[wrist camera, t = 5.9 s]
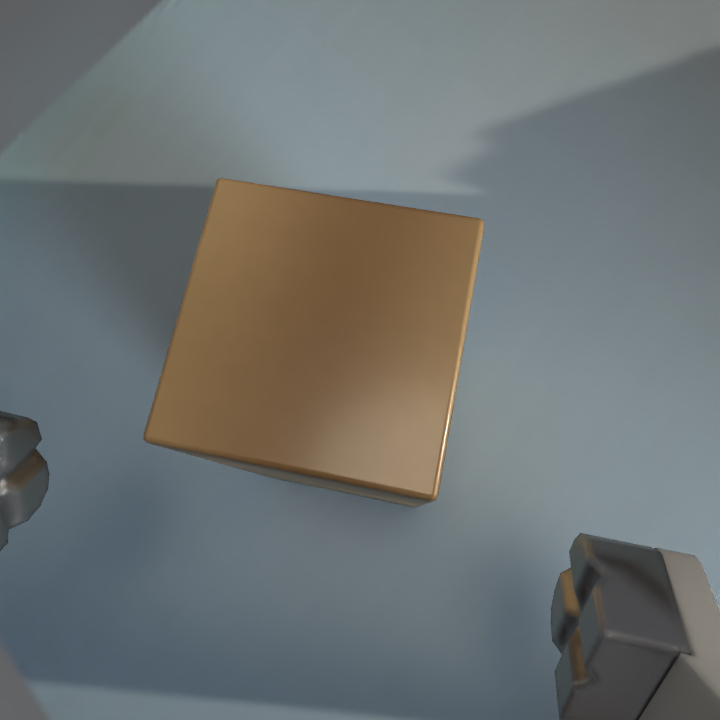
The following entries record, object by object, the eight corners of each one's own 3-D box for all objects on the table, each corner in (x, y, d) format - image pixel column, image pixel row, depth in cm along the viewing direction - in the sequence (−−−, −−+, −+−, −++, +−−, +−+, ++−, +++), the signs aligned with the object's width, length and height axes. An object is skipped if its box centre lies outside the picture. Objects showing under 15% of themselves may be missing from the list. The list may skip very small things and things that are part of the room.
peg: (265, 476, 16) (139, 440, 8) (299, 331, 17) (215, 174, 9) (417, 508, 15) (437, 502, 8) (444, 357, 16) (486, 216, 9)
